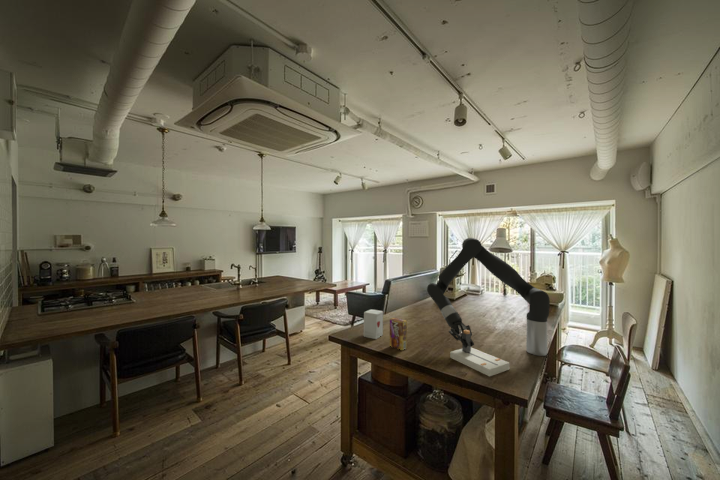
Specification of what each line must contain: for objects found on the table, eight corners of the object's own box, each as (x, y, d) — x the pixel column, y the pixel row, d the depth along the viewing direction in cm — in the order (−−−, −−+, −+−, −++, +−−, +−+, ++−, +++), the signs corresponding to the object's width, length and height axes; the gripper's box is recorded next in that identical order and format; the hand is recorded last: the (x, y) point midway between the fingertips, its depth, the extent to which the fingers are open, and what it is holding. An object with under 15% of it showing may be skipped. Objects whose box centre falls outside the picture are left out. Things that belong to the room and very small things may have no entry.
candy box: (407, 348, 151) (407, 320, 151) (402, 351, 148) (402, 322, 148) (393, 344, 158) (393, 317, 158) (389, 346, 154) (389, 318, 154)
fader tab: (466, 349, 142) (466, 329, 142) (471, 351, 140) (471, 331, 140) (461, 350, 141) (462, 330, 141) (466, 352, 138) (466, 332, 138)
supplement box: (376, 339, 165) (376, 314, 165) (363, 336, 170) (363, 311, 170) (383, 335, 173) (383, 310, 173) (370, 332, 177) (370, 308, 177)
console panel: (469, 352, 147) (469, 346, 147) (509, 369, 128) (509, 362, 128) (450, 357, 140) (450, 351, 140) (489, 376, 121) (489, 368, 121)
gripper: (445, 313, 143) (464, 345, 133) (464, 310, 150) (484, 340, 140) (437, 321, 148) (455, 352, 137) (456, 317, 155) (475, 347, 144)
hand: (469, 346), depth 139 cm, fingers closed on fader tab, 3 cm apart
